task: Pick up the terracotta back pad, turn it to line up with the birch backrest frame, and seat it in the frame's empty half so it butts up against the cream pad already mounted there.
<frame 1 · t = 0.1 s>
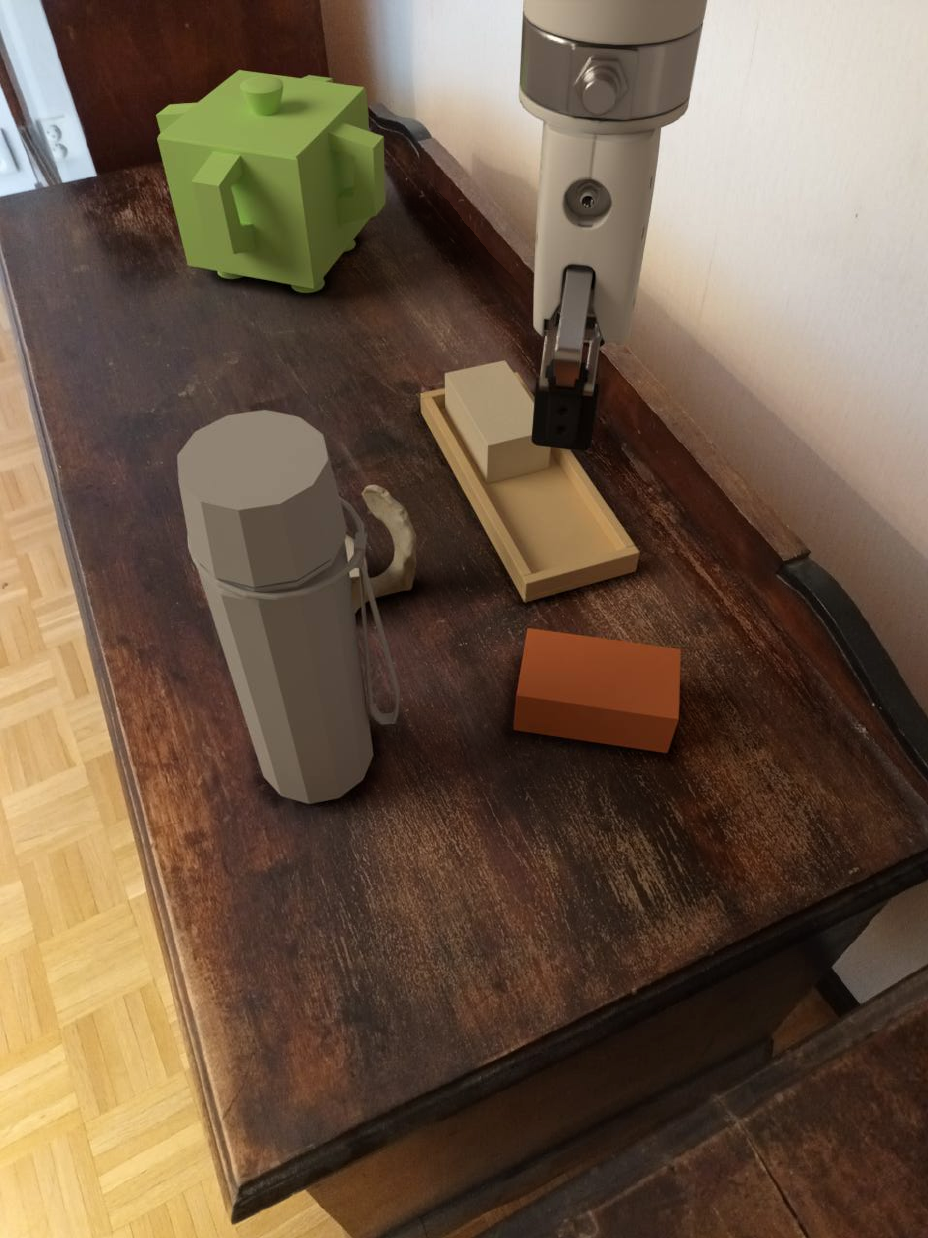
hand: (570, 390, 53), 19 cm above the table, tool pointing down, fingers open, 9 cm apart
water bottle: (333, 761, 59), on the table
bone: (357, 595, 68), on the table
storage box: (288, 258, 98), on the table
backrest frame: (519, 485, 75), on the table
loose pad: (593, 707, 61), on the table
mounted pad: (495, 439, 78), resting on backrest frame
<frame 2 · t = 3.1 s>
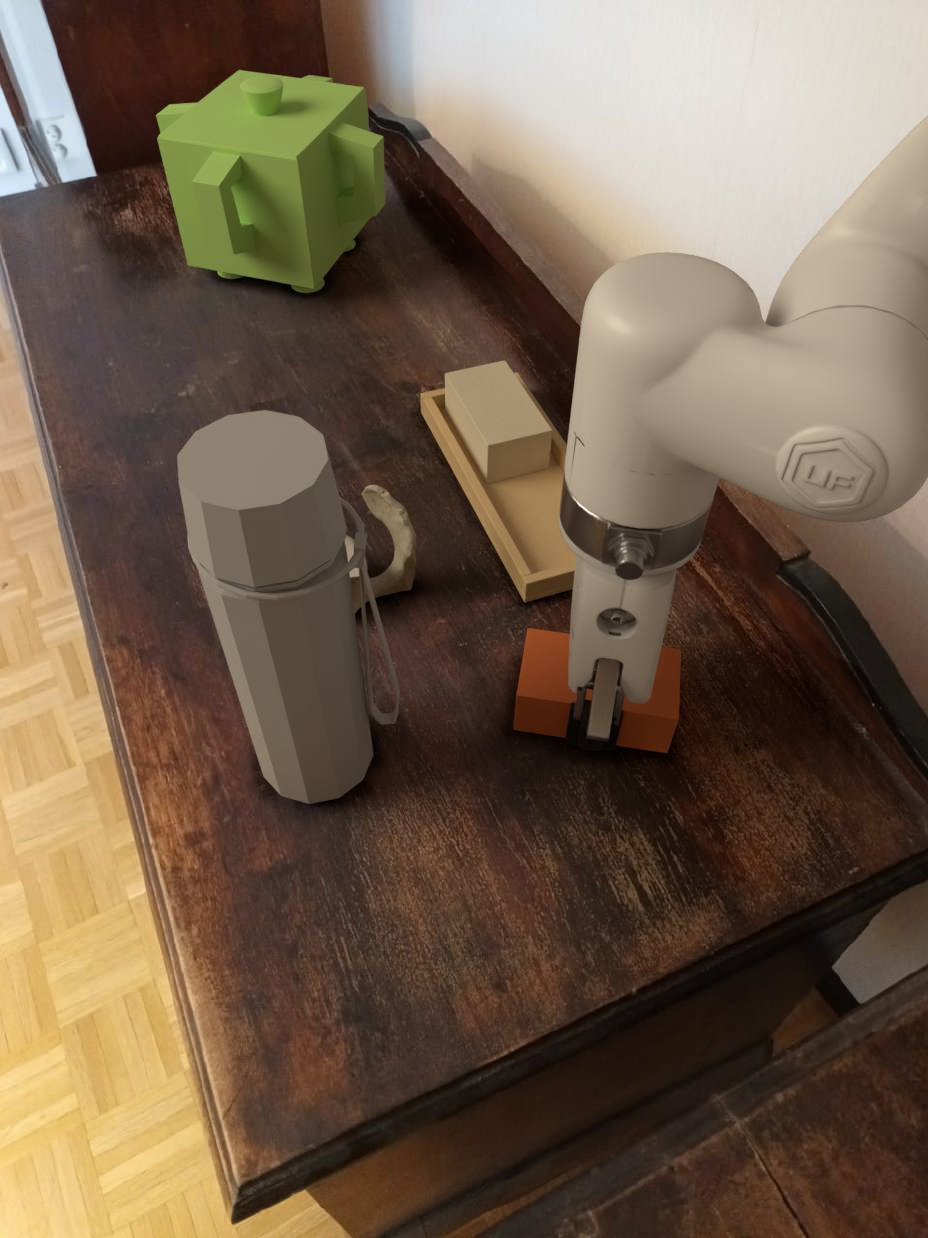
hand: (594, 702, 61), 1 cm above the table, tool pointing down, fingers closed on loose pad, 5 cm apart
loose pad: (593, 707, 61), on the table, touching gripper
everything else where it was.
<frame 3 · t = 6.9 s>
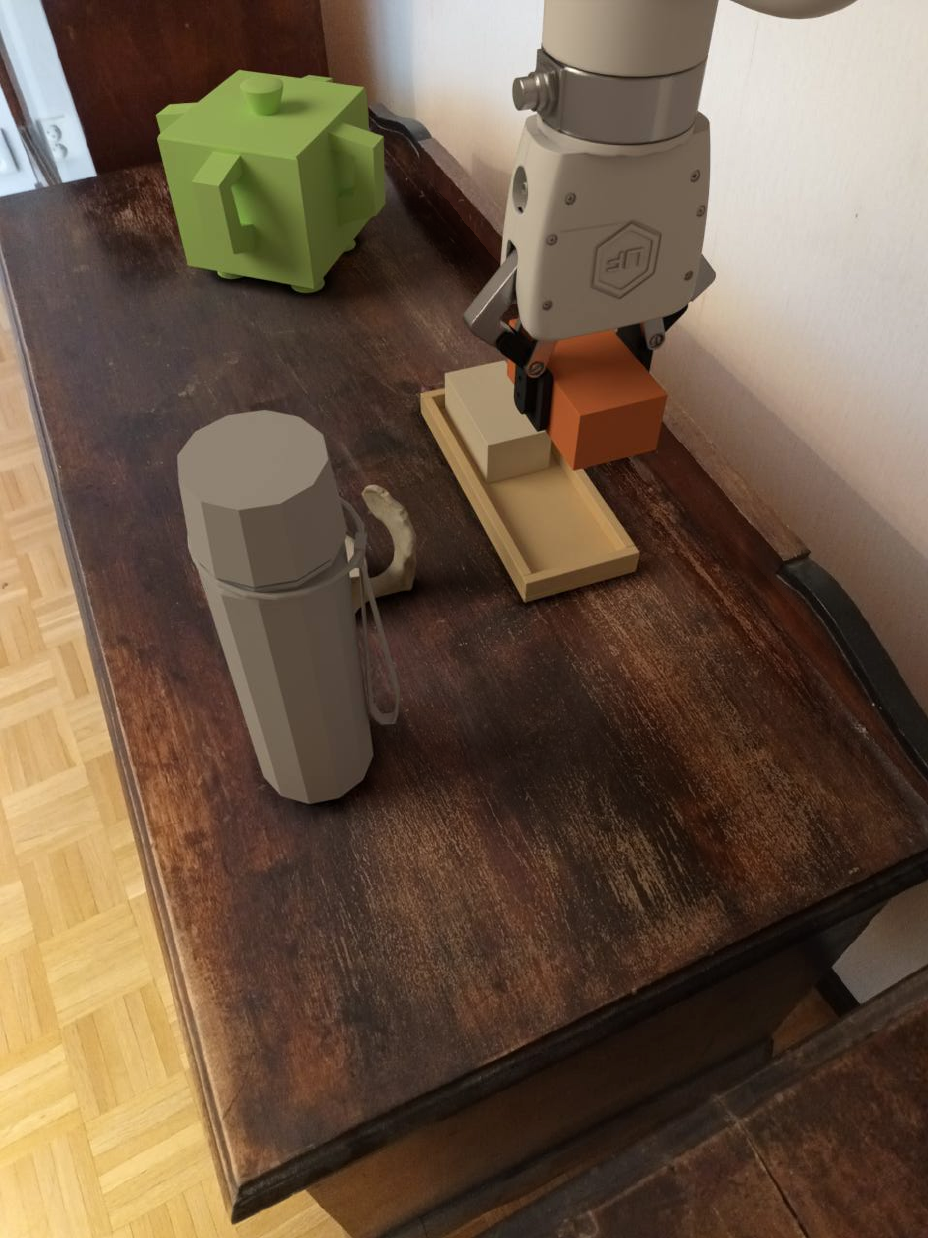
hand: (579, 403, 57), 16 cm above the table, tool pointing down, fingers closed on loose pad, 5 cm apart
loose pad: (578, 410, 57), point 15 cm above the table, touching gripper
everything else where it was.
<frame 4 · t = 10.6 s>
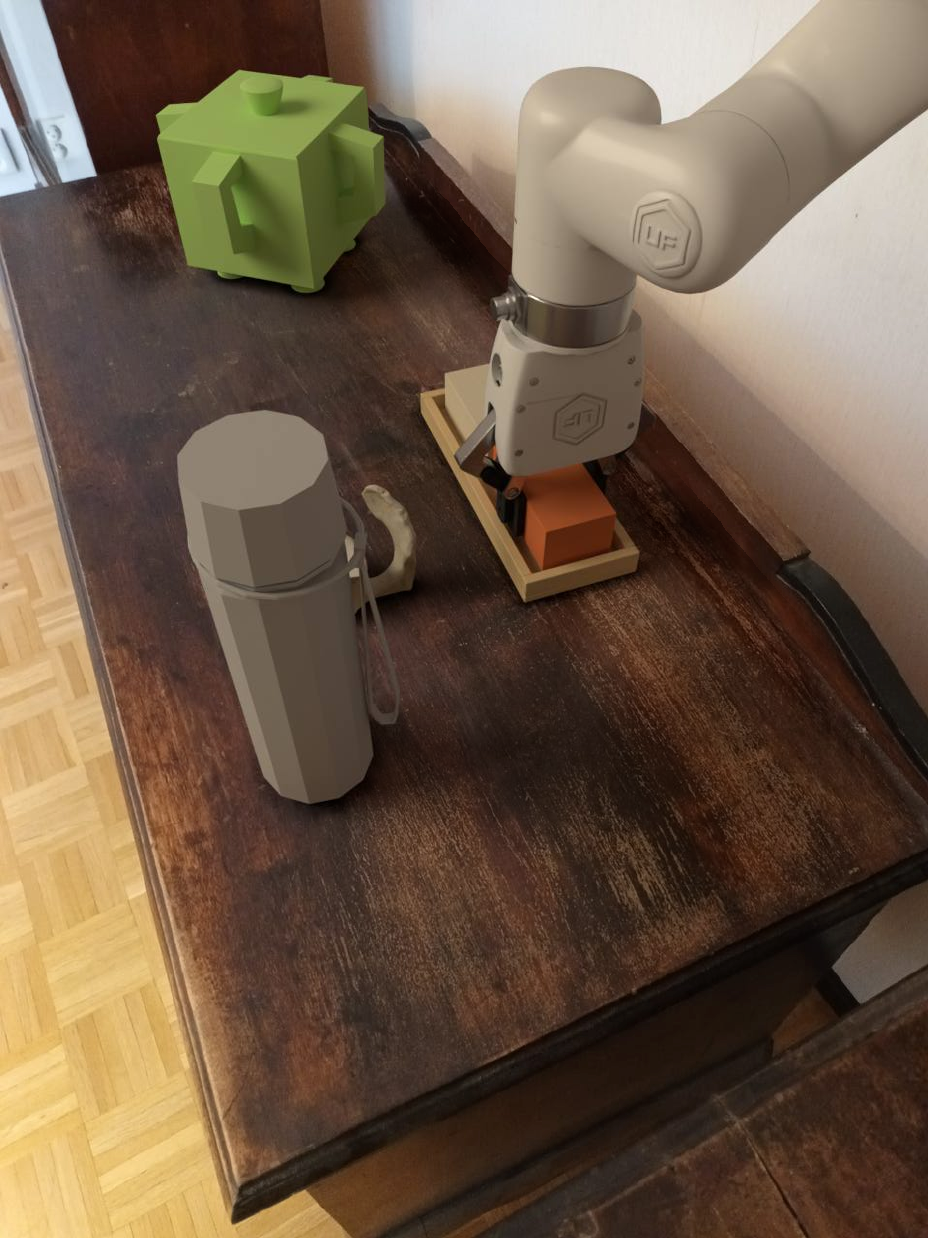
hand: (549, 512, 70), 2 cm above the table, tool pointing down, fingers closed on loose pad, 5 cm apart
loose pad: (548, 517, 71), point 1 cm above the table, touching gripper
everything else where it was.
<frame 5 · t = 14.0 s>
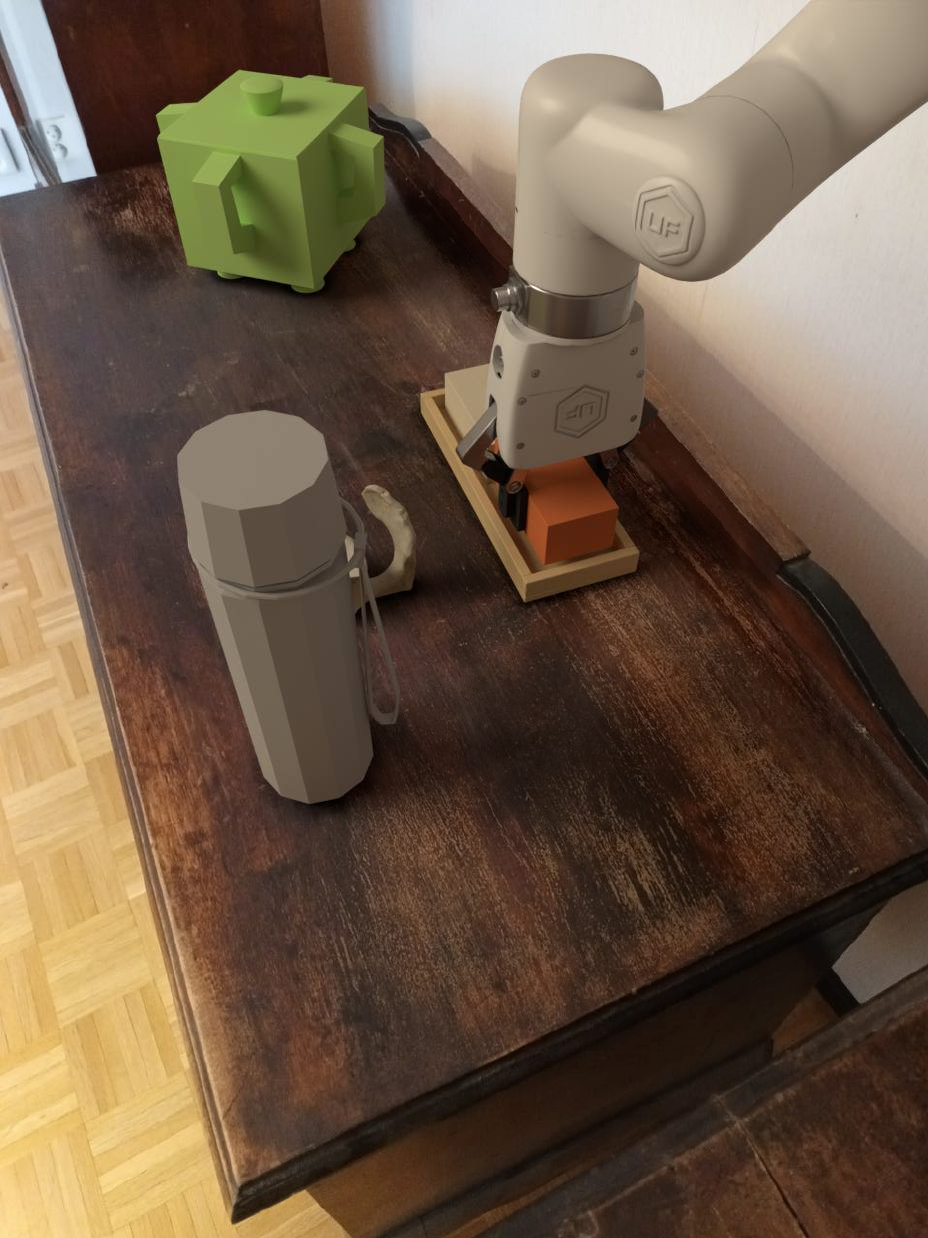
hand: (551, 507, 70), 3 cm above the table, tool pointing down, fingers closed on loose pad, 5 cm apart
loose pad: (550, 512, 70), point 2 cm above the table, touching gripper
everything else where it was.
when the fingers open (3 cm above the table, at t = 17.2 s): loose pad drops 2 cm, resting on backrest frame.
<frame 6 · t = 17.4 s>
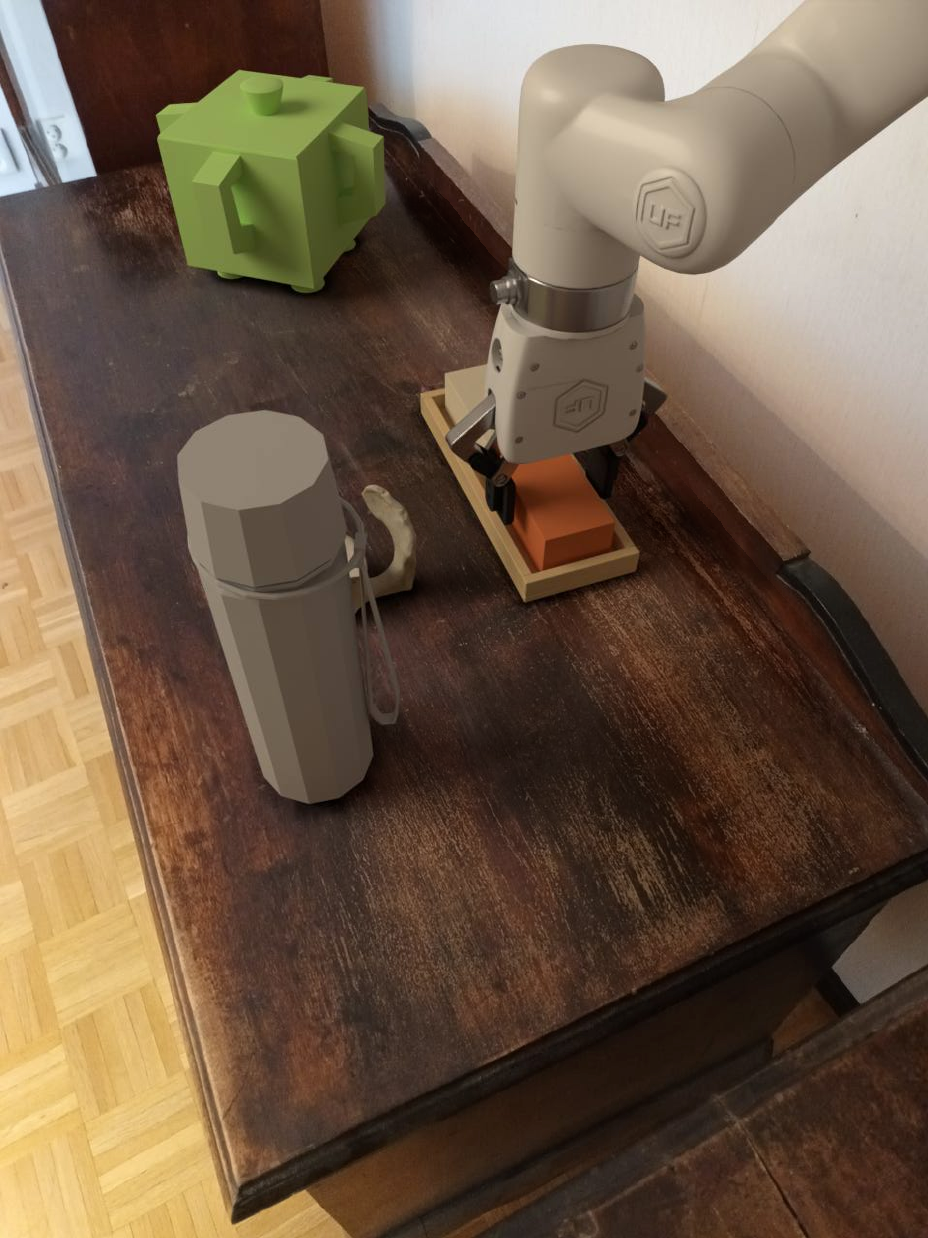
hand: (550, 498, 69), 3 cm above the table, tool pointing down, fingers open, 7 cm apart
loose pad: (548, 525, 72), point 1 cm above the table, touching backrest frame
everything else where it was.
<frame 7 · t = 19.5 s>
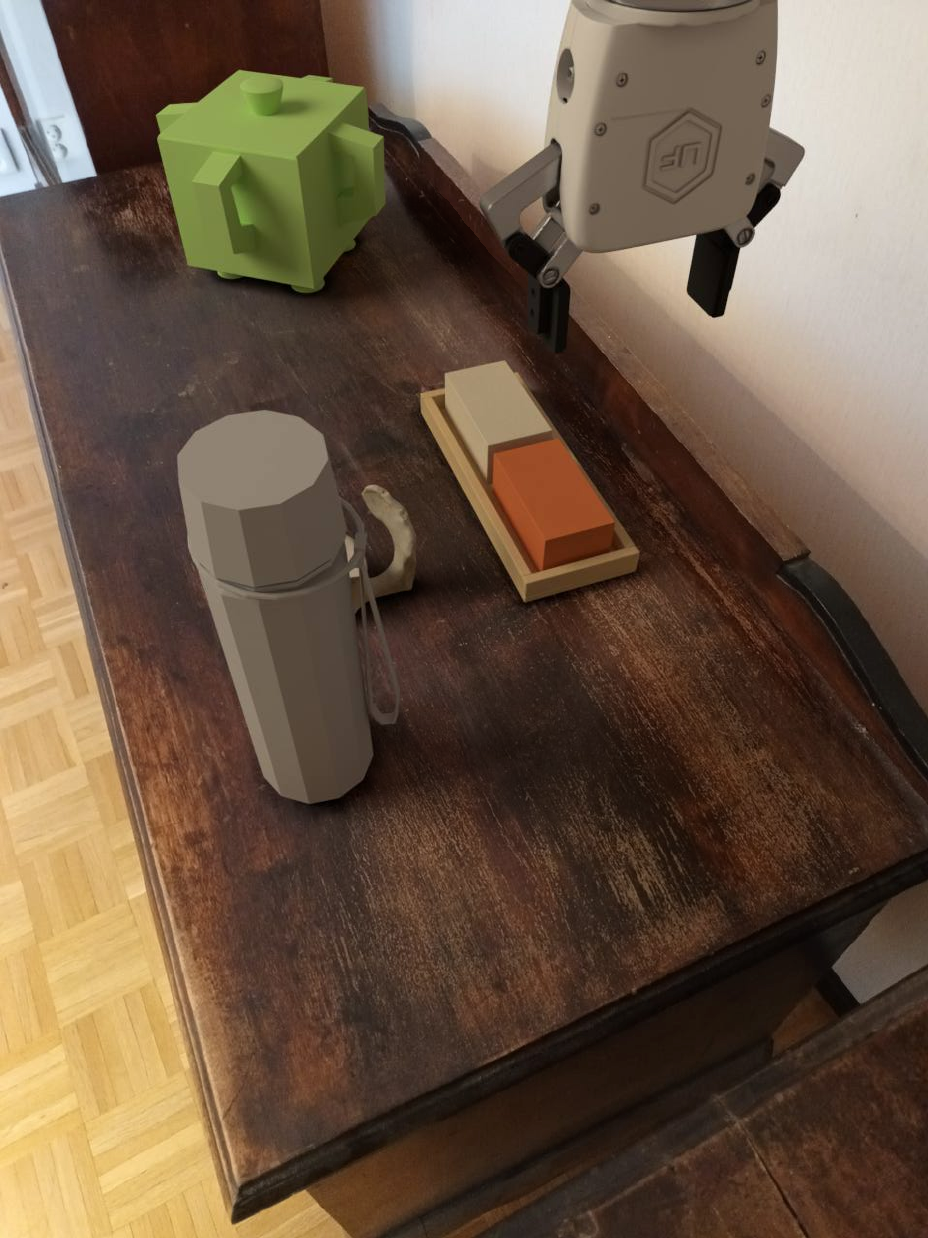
hand: (627, 322, 52), 22 cm above the table, tool pointing down, fingers open, 9 cm apart
nothing on the table moved.
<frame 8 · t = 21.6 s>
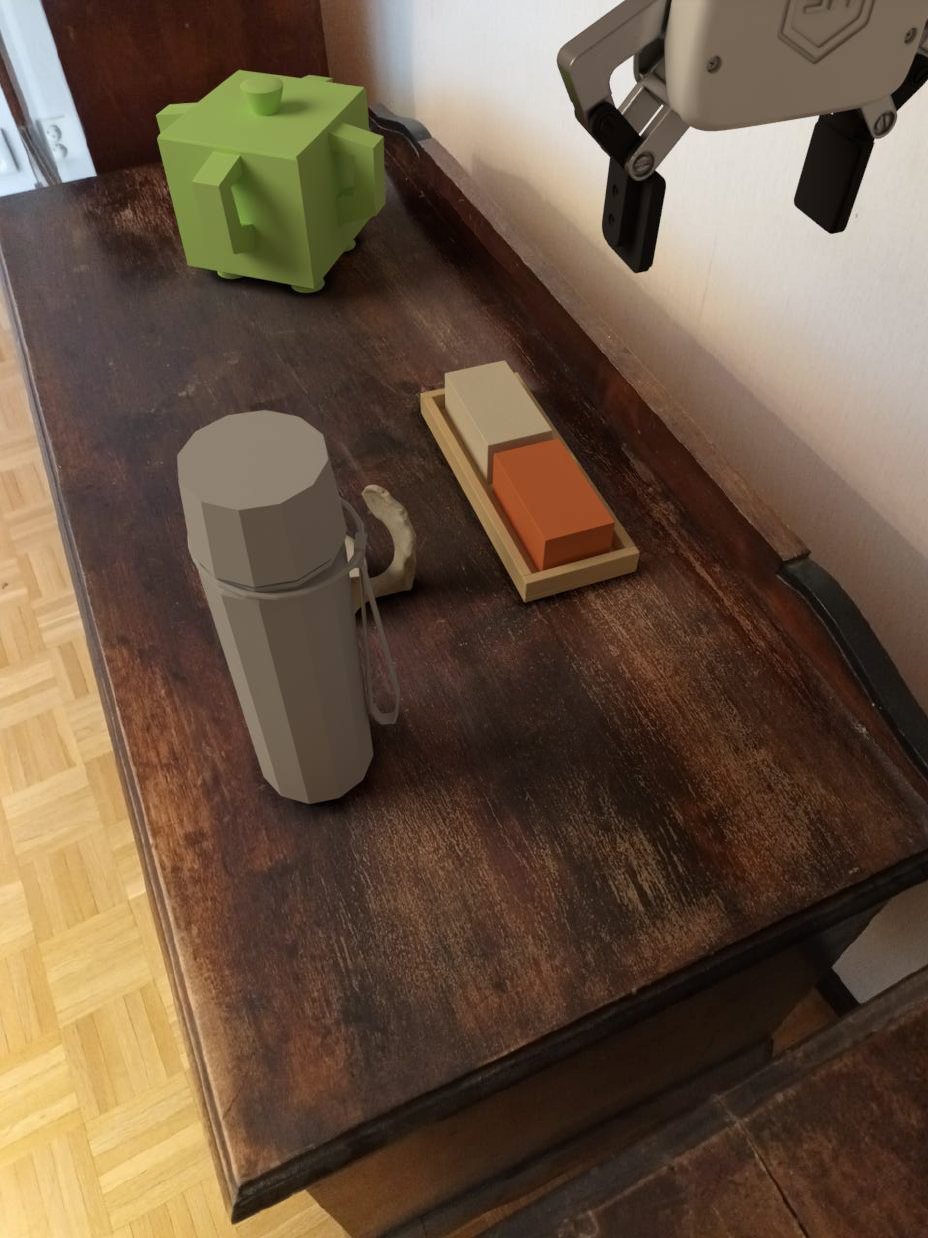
hand: (724, 237, 41), 30 cm above the table, tool pointing down, fingers open, 9 cm apart
nothing on the table moved.
at the end: loose pad 0.3 cm from the target spot in the backrest frame, point 0.6 cm above the backrest frame's base; loose pad 11.0 cm from the mounted pad (horizontally); loose pad tilted 0° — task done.
